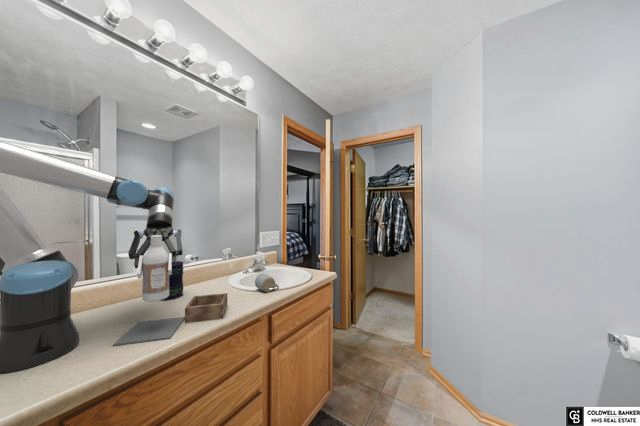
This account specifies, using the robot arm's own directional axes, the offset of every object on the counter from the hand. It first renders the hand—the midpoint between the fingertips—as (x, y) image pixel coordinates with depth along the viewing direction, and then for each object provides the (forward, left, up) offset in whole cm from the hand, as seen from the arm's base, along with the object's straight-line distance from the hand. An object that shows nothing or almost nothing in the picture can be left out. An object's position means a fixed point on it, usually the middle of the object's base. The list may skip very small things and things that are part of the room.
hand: (154, 274), depth 69 cm
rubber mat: (-1, +3, -18) cm, 19 cm away
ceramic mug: (+35, +34, -19) cm, 52 cm away
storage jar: (-7, +36, -19) cm, 41 cm away
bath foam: (-1, +3, -9) cm, 9 cm away
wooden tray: (+13, +12, -18) cm, 25 cm away
